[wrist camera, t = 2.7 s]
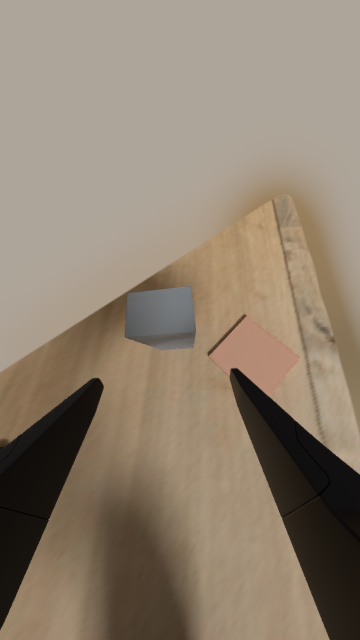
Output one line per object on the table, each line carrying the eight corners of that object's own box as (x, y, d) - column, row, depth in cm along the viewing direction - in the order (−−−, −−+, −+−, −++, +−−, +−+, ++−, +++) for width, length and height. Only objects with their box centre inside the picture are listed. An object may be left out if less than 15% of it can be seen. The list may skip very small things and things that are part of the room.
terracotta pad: (298, 357, 18) (300, 357, 18) (259, 406, 17) (261, 407, 17) (246, 316, 21) (247, 315, 20) (208, 356, 19) (208, 356, 19)
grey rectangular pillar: (193, 347, 20) (196, 330, 9) (161, 350, 20) (124, 337, 9) (190, 326, 21) (190, 286, 10) (161, 328, 21) (127, 293, 10)
